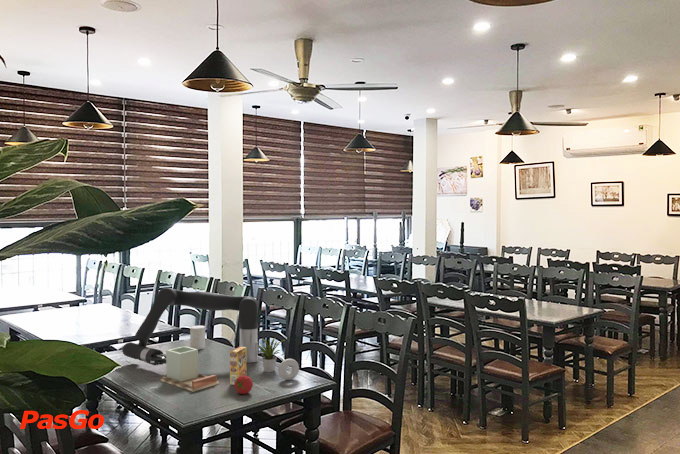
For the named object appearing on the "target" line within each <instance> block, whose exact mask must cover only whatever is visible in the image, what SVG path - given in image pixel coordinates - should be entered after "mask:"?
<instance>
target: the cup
mask: <svg viewBox="0 0 680 454" xmlns="http://www.w3.org/2000/svg"><path fill="white" fill-rule="evenodd" d="M189 329H190V331H189V337H190V338H189V341H190V342H189V343H190V344H189V347H190V348H194V349H198V351H199V350H203V349H205V348H206V326H205V325H192V326H190V327H189Z"/></svg>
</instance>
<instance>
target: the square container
mask: <svg viewBox="0 0 680 454" xmlns="http://www.w3.org/2000/svg"><path fill="white" fill-rule="evenodd" d="M165 355H166V364H165V365H166V366H165V367H166V373H165V374H166V376H165V377H168V378H171V379H174V380H177V381H180V382H182V381H185V380H189V379H192V378H196V377H198V374H199V369H198V368H199V361H198V360H199V350H198V349H194V348H190V346H186V345H184V346H180V347H175V348H170V349H166V353H165Z"/></svg>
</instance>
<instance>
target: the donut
mask: <svg viewBox="0 0 680 454" xmlns="http://www.w3.org/2000/svg"><path fill="white" fill-rule="evenodd" d="M299 366H300V365H299V363H298V361H296V360H295V359H293V358H287V359H284V360H283V361H282V362H281V363H280V364H279V366H278V369H277V370H278V375H279V376H280V378H281V379H282V380H285V381H292V380H293V379H295V378H296V377H297V375H298V374H299V371H300V367H299ZM288 367H291V370H290V372H287V368H288Z"/></svg>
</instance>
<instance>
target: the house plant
mask: <svg viewBox="0 0 680 454" xmlns="http://www.w3.org/2000/svg"><path fill="white" fill-rule="evenodd" d="M262 340H263V341H264V342H265V346H264V344H263V343H262V342H260V341H258V340H257V342H258V343H259V344H260V345H259V344H258V345H257V346H258V348H259V349H258V351H259V352H260V353H263V354H261V356H263V357H261V360H262V366H263V367H262V368H263V372H265V373H271V372H275V370H276V363H277V356H274V355H276V354H280V352H279V351H281V349H276V348H277V347H278V346H279V345H280V343H282V342H284V341H286V340H285V339H283V340H280V341H279V340H276V337H274V338H273V339H272V340H270V339H268V341H267V340H266V339H264V338H262ZM270 341H271V342H270ZM275 349H276V350H275Z"/></svg>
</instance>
